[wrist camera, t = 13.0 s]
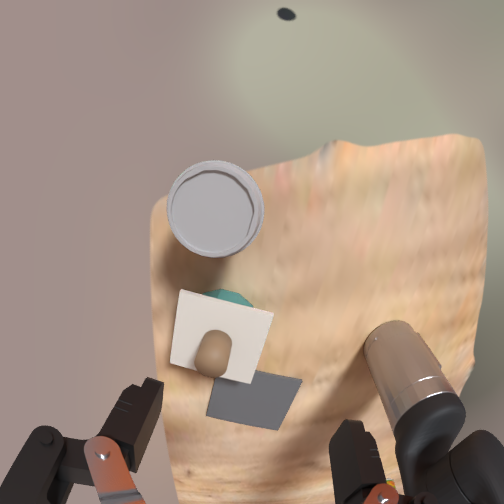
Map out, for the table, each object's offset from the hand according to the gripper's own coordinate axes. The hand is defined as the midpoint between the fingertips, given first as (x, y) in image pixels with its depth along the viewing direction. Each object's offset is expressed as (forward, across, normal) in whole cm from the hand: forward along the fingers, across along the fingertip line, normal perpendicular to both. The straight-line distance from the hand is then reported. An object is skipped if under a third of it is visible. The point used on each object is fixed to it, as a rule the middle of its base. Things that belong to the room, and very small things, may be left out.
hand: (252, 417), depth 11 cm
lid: (+25, +3, +14) cm, 29 cm away
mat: (+30, -5, +29) cm, 42 cm away
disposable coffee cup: (+30, +6, -4) cm, 31 cm away
